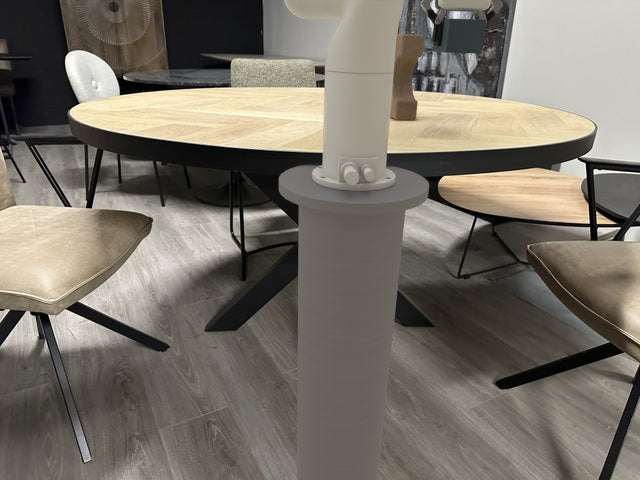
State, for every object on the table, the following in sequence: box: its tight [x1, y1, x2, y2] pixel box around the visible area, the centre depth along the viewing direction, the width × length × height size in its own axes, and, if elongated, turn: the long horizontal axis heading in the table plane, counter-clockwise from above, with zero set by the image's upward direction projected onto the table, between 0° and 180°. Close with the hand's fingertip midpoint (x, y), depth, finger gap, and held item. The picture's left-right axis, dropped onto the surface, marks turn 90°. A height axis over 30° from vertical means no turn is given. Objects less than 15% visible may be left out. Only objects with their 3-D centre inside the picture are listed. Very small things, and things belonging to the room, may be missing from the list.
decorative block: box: [390, 33, 426, 121], centre depth 120 cm, size 11×6×20 cm, turn 8°
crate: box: [431, 18, 487, 55], centre depth 95 cm, size 11×7×6 cm, turn 1°
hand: (456, 45), depth 96 cm, fingers closed on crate, 7 cm apart
